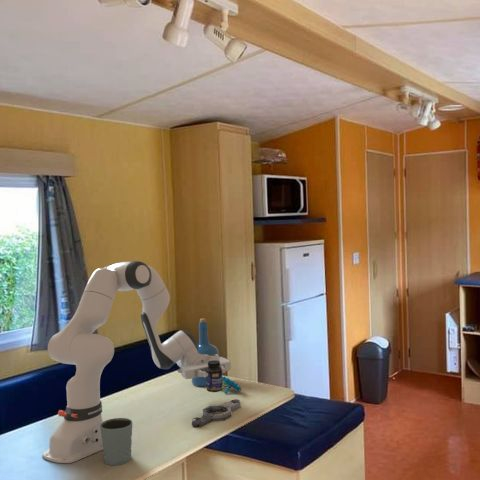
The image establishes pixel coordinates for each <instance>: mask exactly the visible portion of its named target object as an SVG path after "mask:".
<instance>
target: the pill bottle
mask: <svg viewBox="0 0 480 480" xmlns="http://www.w3.org/2000/svg"><path fill="white" fill-rule="evenodd" d="M219 366H220V361H216V360H212V361H208V368H207V369H206V372H208V377H206V383H207V387H206V391H208V392H210V393H219V392H222V391H221V390H222V388H223V380H222V377H223V374H222V369H221V367H219Z"/></svg>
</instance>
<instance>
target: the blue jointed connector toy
mask: <svg viewBox="0 0 480 480" xmlns="http://www.w3.org/2000/svg"><path fill="white" fill-rule="evenodd" d="M225 388H226V389H225ZM232 388H233V389H234V390H236V391H237V392H239V391H242V387H241V386H239V385H238V383H235V382H234V380H232V379H230V378H229V377H226V376H222V390H221V391H220V392H223V391H224V389H225V391H224V394H225V395H227V394H228V393H229V391H230V389H232Z"/></svg>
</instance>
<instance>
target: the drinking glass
mask: <svg viewBox="0 0 480 480" xmlns="http://www.w3.org/2000/svg"><path fill="white" fill-rule="evenodd" d="M100 428H101V435H102V444H103V448H104V449H103V450H102V452H103V462H104V463H105V464H106V465H109V466H121V465H123V464H124V465H125V464H126V463H128V462H130V460H131V459H132V444H133V443H132V442H133V441H132V440H133V439H132V436H133V420H132V419H130V418H126V417H116V418H109V419H106V420H104V421H103V422H102V423H101V425H100Z"/></svg>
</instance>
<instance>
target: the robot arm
mask: <svg viewBox="0 0 480 480" xmlns="http://www.w3.org/2000/svg"><path fill="white" fill-rule="evenodd" d="M133 290H135V291H136V292H137V295H138V297H139V299H140V301H141V305H142V310H141V311H142V312H141V313H140V321H141V324H142V327H143V331H144V334H145V337H146V340H147V342H148V344H149V349H150V353H151V357H152V360H153V362H154V365H156V367H157V368H159V369H161V370H169V369H171V368H172V367H173V366H174V365H175V364H177V366H178V367H179V368H178V369H177V373H179V374H181V375H180V376H181V377H182V378H184V380H190V379H191V380H192V378H196V377H208V372H206V369H207V368H208V361H212V360H216V361H220V366H219V367H221V369H222V375H223V374H226V372H227V371H231V370H232V363H231V361H230V360H229V359H228V358H225V357H223V356H219V355H220V354H219V355H217V354H209V355H207V354H200V353H198V344H197V343H198V341H197V339H196V338H195V336H194V335H193V334H192V333H190V332H189V331H186V330H182V329H181V330H179V331H176V332H175V333H174V334H173V335H171V336H170V337H168V339H166V340H165V341H163V342H161V339H160V336H159V333H158V331H157V330H158V329H157V325H158V322H159V320H160V319H161V317H162V315H164V313H165V311H166V310H167V308H168V307H169V304H170V300H171V295H170V293H169V290H168V288H167V286H166V285H165V283H164V281H163V279H162V277H161V276H160V275H159V273H158V272H157V271H156V270H155V268H154V267H153V266H150V265H148V264H146V263H145V262H143V261H139V260H132V261H120V262H117V263H111V264H108V265H107V266H104V267H100V268H97V269H95V270H94V271H93V272H92V274H91V276H90V277H89V279H88V281H87V283H86V285H85V288H84V291H83V293H82V295H81V298H80V301H79V303H78V306H77V308H76V310H75V313H74V314H73V316H72V317H71V319H70V320H69V322H68V323H67V324H66V325H65V326H64V327H63V328H62V329H61V330H60V331H58V332H57V333H55V334H54V335H52V336H51V337H50V339H49V340H48V344H47V353H48V356H49V357H50V359H52V360H53V361H56V362H58V363H61V364H63V365H65V364H66V365H75V369H76V371H75V375H74V376H72V377H71V378H70V379H68V381H67V382H66V385H65V386H66V387H65V389H66V401H67V402H66V404H67V405H66V406H65V410H62V409H59V410H58V412H57V415H58V417H62V418H63V420H62V421H61V423H60V424H58V426H57V428H56V429H55V430H54V431H53V433H52V434H51V436H50V438H49V446H48V447H49V448H47V449H46V450H45V451H43V452H42V454H41V455H42V458H43V459H45V460H47V461H49V462H54V463H58V464H59V463H60V464H71V463H75V462H77V461H79V460H82V459H84V458H86V457H88V456H91V455H93V454H96V453H98V452H101V451H104V450H103V449H104V448H103V444H102V435H101V428H100V425H101V423H102V422H104V421H103V417H102V413H103V405H102V400H101V395H100V394H101V390H100V389H101V388H100V387H101V386H100V385H101V375H102V373H103V370H104V369H105V367H107V365H108V364H109V363H110V362H111V361H112V359H113V357H114V354H115V346H114V343H113V341H112V340H111V338H109V337H106V336H104V335H103V334H102V335H101V334H99V333H95V331H96V330H97V329H98V328H100V327H101V326H103V325H105V324H106V322H107V320H108V319H109V315H110V313H111V310H112V307H113V304H114V300H115V297H116V293H117V292H118V291H119V292H123V291H124V292H127V291H128V292H129V291H133Z"/></svg>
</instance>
